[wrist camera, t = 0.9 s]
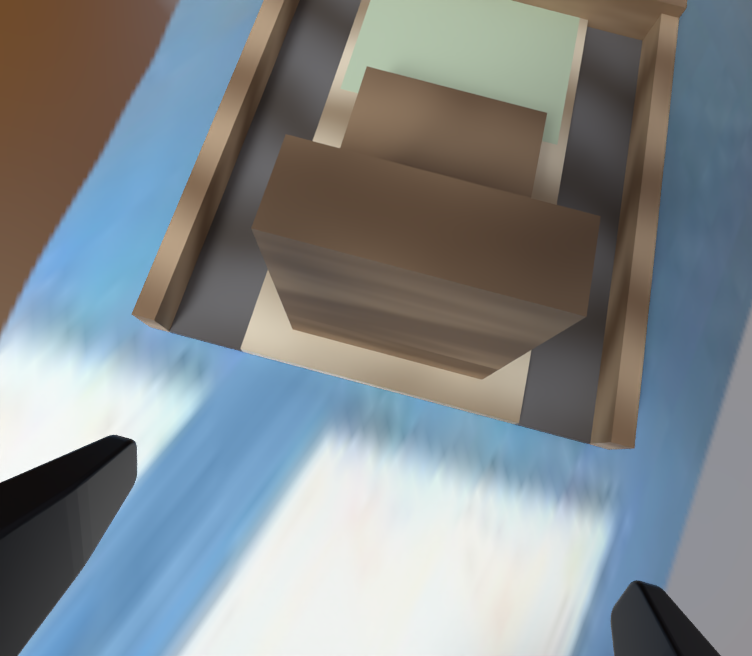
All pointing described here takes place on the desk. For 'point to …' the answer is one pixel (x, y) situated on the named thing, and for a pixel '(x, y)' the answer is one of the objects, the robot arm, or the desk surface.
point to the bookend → (426, 231)
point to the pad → (472, 50)
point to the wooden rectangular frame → (552, 184)
